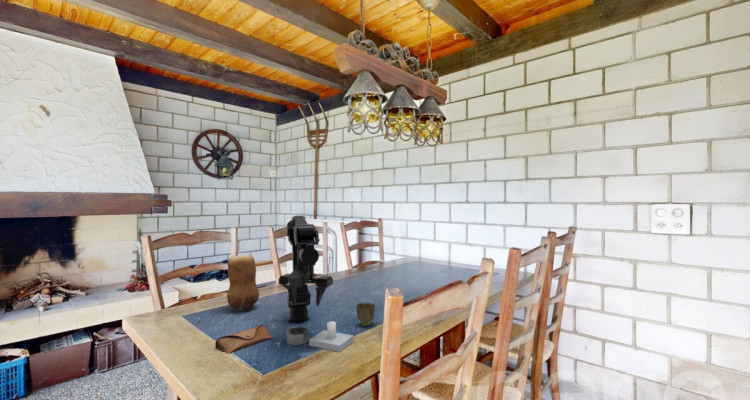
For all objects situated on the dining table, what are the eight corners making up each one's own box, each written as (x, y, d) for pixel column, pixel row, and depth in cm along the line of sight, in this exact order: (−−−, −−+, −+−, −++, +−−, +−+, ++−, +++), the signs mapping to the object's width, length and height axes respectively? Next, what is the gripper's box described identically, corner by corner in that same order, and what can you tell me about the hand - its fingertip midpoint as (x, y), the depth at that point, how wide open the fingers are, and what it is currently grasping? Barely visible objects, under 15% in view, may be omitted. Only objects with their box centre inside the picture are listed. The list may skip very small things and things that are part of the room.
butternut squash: (237, 304, 159) (237, 252, 159) (264, 305, 157) (263, 252, 157) (220, 314, 145) (220, 257, 145) (249, 315, 143) (248, 257, 143)
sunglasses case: (227, 355, 105) (221, 334, 107) (218, 361, 109) (213, 340, 111) (276, 337, 119) (270, 319, 121) (266, 343, 123) (261, 325, 125)
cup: (373, 329, 126) (372, 308, 126) (354, 328, 127) (353, 307, 127) (376, 322, 133) (376, 302, 133) (359, 321, 134) (358, 301, 134)
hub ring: (283, 343, 114) (282, 332, 114) (296, 335, 120) (295, 326, 120) (299, 346, 111) (299, 336, 111) (311, 338, 117) (311, 328, 117)
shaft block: (309, 345, 112) (309, 324, 112) (324, 335, 120) (324, 316, 120) (339, 352, 106) (339, 330, 107) (353, 341, 115) (353, 321, 115)
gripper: (269, 263, 112) (269, 309, 112) (319, 265, 106) (319, 314, 106) (287, 258, 123) (287, 300, 122) (333, 260, 117) (333, 304, 117)
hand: (305, 304), depth 117 cm, fingers open, 9 cm apart
